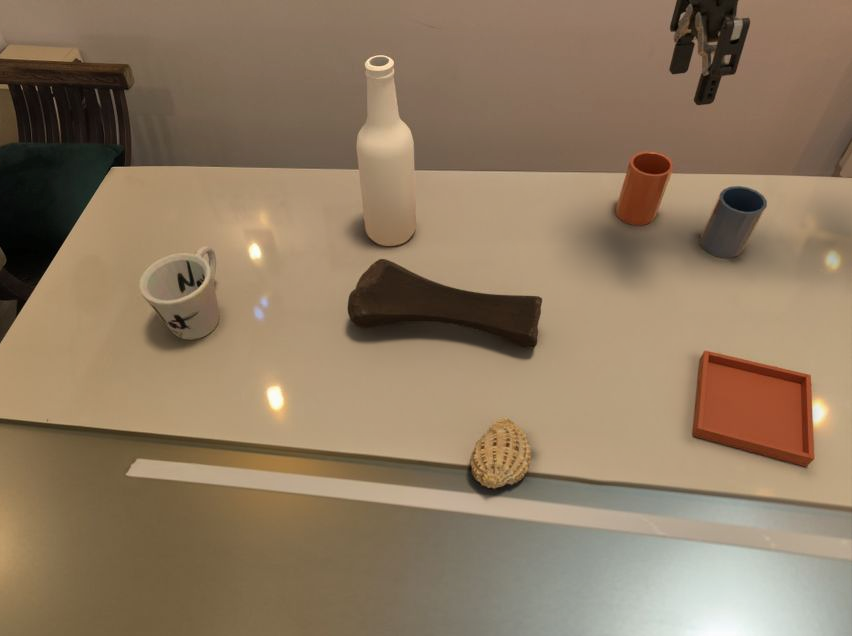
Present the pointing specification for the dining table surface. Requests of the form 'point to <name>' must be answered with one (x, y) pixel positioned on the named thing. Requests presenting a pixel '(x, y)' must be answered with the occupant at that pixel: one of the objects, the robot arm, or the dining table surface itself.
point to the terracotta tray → (755, 408)
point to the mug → (183, 292)
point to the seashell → (501, 455)
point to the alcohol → (386, 160)
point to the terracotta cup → (643, 187)
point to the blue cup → (732, 221)
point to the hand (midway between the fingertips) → (689, 87)
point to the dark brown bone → (440, 305)
